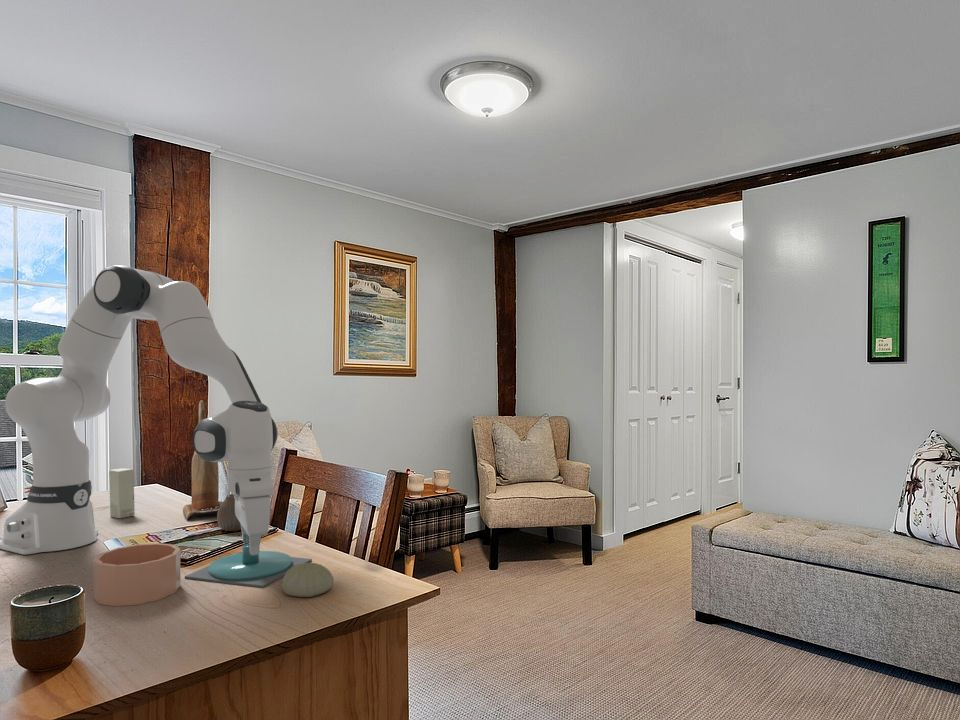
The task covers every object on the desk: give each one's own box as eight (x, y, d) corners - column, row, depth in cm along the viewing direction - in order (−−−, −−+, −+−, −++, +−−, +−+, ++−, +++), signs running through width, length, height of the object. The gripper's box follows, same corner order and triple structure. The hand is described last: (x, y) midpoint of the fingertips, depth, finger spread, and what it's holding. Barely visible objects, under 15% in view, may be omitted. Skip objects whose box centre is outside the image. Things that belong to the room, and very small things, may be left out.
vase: (236, 534, 161) (236, 498, 161) (211, 532, 163) (211, 497, 162) (251, 526, 168) (251, 492, 168) (227, 525, 169) (227, 491, 169)
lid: (190, 575, 129) (190, 553, 129) (242, 552, 144) (242, 532, 144) (260, 584, 124) (260, 560, 124) (306, 559, 140) (306, 538, 140)
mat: (184, 578, 129) (184, 576, 129) (240, 553, 145) (240, 551, 145) (263, 587, 124) (263, 585, 124) (311, 560, 140) (311, 558, 140)
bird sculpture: (223, 509, 189) (221, 398, 190) (231, 516, 179) (229, 399, 180) (181, 514, 183) (179, 400, 184) (187, 522, 173) (184, 401, 174)
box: (135, 515, 180) (135, 469, 180) (119, 519, 176) (119, 471, 176) (124, 513, 182) (124, 467, 182) (108, 516, 179) (108, 469, 179)
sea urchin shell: (310, 594, 115) (287, 557, 118) (288, 619, 118) (267, 582, 121) (346, 578, 123) (324, 544, 126) (325, 602, 126) (304, 568, 129)
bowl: (76, 600, 117) (76, 561, 117) (137, 576, 130) (137, 541, 130) (138, 609, 113) (138, 569, 113) (195, 583, 126) (195, 546, 126)
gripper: (227, 473, 142) (227, 537, 142) (241, 491, 124) (241, 563, 124) (257, 471, 145) (258, 533, 145) (275, 487, 127) (275, 559, 127)
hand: (250, 547), depth 134 cm, fingers open, 8 cm apart
